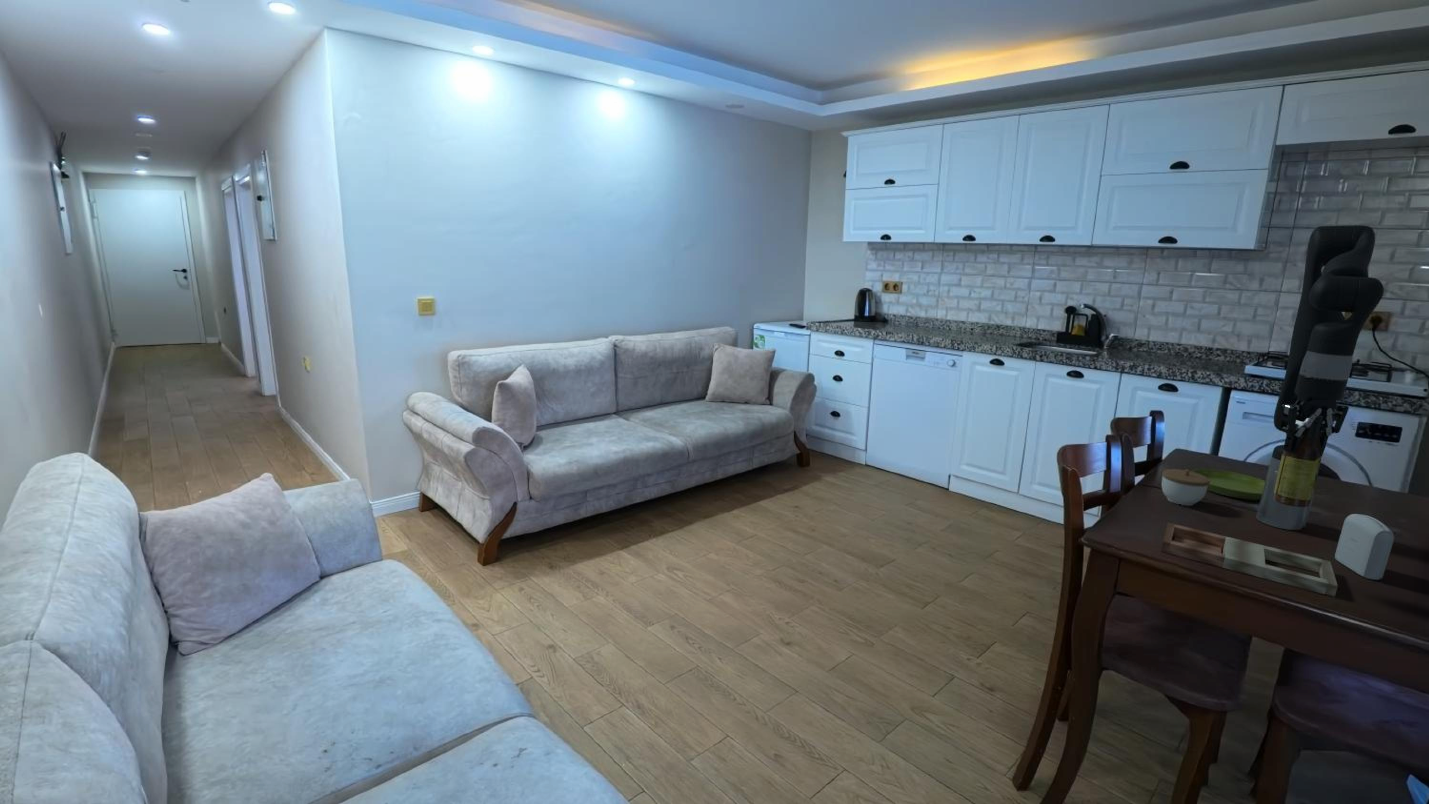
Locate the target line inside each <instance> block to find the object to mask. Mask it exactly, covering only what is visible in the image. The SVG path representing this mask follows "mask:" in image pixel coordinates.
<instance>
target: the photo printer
mask: <svg viewBox="0 0 1429 804" xmlns="http://www.w3.org/2000/svg"><path fill="white" fill-rule="evenodd" d="M1394 541H1395V535H1394V533H1393V531H1392V530H1391V528H1389V527H1388V526H1387V525H1386V524H1384V522H1382V521H1380V520H1379V519H1377V518H1375V517H1372V516H1370V515H1366V514H1359V513H1352V514H1349V515H1348V516H1347V517H1346V518H1345V519H1344V522H1343V525H1342V529H1341V532H1340V535H1339V538H1338V543H1337V547H1336V549H1335V550H1336V551H1335V555H1334V559H1335V560H1336V561H1338V562H1339V563H1341V565H1343V566H1345V567H1347V568H1349V569H1350V570H1351V571H1353V572H1355V573H1356V574H1358V575H1360V576H1361V577H1364V578H1365V579H1369V580H1377V581H1379V580H1380V579H1382V578H1383V576H1384V575H1385V574H1384V573H1385V571H1386V567H1387V564H1388V561H1389V557H1390V554H1391V550H1392V548H1393V543H1394Z"/></svg>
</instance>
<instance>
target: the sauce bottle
mask: <svg viewBox="0 0 1429 804" xmlns="http://www.w3.org/2000/svg"><path fill="white" fill-rule="evenodd" d="M1323 419H1324V416H1317V417H1316V418H1315V419H1314V421H1313V422H1312V424H1311V425H1310V427H1309V428H1305V430H1304V431H1303V433H1302V434H1301V435H1300V436H1299V437H1301V438H1300V442H1299V446H1298V450H1297V453H1289V452H1286V451H1284V453H1283V454H1282V458H1281V462H1280V467H1279V471H1278V476H1277V480H1276V485H1275V489H1274V493H1275V494H1274V495H1273V496H1274V499H1275V500H1276V501H1277V502H1280V503H1282V504H1285V505H1289V506H1295V507H1307V506H1309V504H1310V501H1311V499H1312V496H1313V492H1314V491H1315V487H1316V482H1317V479H1318V475H1319V470H1320V466H1321V462H1322V458H1323V455H1322V449H1321V444H1320V439H1319V431H1320V427H1321V423H1322V422H1323ZM1298 421H1301V420H1300V419H1298ZM1301 422H1304V421H1301ZM1298 427H1299V426H1298V425H1297V427H1296V430H1297V428H1298ZM1314 493H1315V492H1314Z"/></svg>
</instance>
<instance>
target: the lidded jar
mask: <svg viewBox="0 0 1429 804" xmlns="http://www.w3.org/2000/svg"><path fill="white" fill-rule="evenodd" d="M1209 483H1210V480H1209V479H1208V478H1207V477H1205V476H1203V475H1201V474H1198V473H1194V472H1191V470H1189V469H1187V468H1186V469H1175V468H1170V469H1169V468H1167V469H1164V470H1163V471H1162V477H1161V490H1162V492H1163V494H1164V496H1165V497H1166V498H1167V500H1168V501H1169V502H1171V503H1173V504H1176V505H1179V504H1181V506H1185V505H1186V506H1189V507H1190V506H1194V505H1195V504H1197V503H1199V502H1200V501H1201V500H1203V498H1204V497H1205V495H1206V494H1207V491H1208V490H1207V488H1208V485H1209ZM1186 506H1185V507H1186Z"/></svg>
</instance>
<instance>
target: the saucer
mask: <svg viewBox="0 0 1429 804" xmlns="http://www.w3.org/2000/svg"><path fill="white" fill-rule="evenodd" d="M1190 472H1194V473H1198V474H1201V475H1203V476H1205V477H1207V478H1208V479H1209V480H1210V483H1209V485H1208V488H1207V491H1209V492H1212V493H1215V494H1218V495H1221V496H1224V495H1225V496H1224V497H1229V498H1233V497H1234V498H1235V499H1239V498H1240V500H1247V499H1249V500H1250V501H1258V500H1259V501H1260V499H1261V497H1262V493H1263V489H1264V485H1265V481H1266V480H1264V479H1261V478H1258V477H1255V476H1251V475H1247V474H1243V473H1240V472H1239V473H1238V472H1235V471H1228V470H1222V469H1221V470H1220V469H1212V468H1211V469H1209V468H1199V469H1197V468H1196V469H1194V470H1190Z"/></svg>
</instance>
